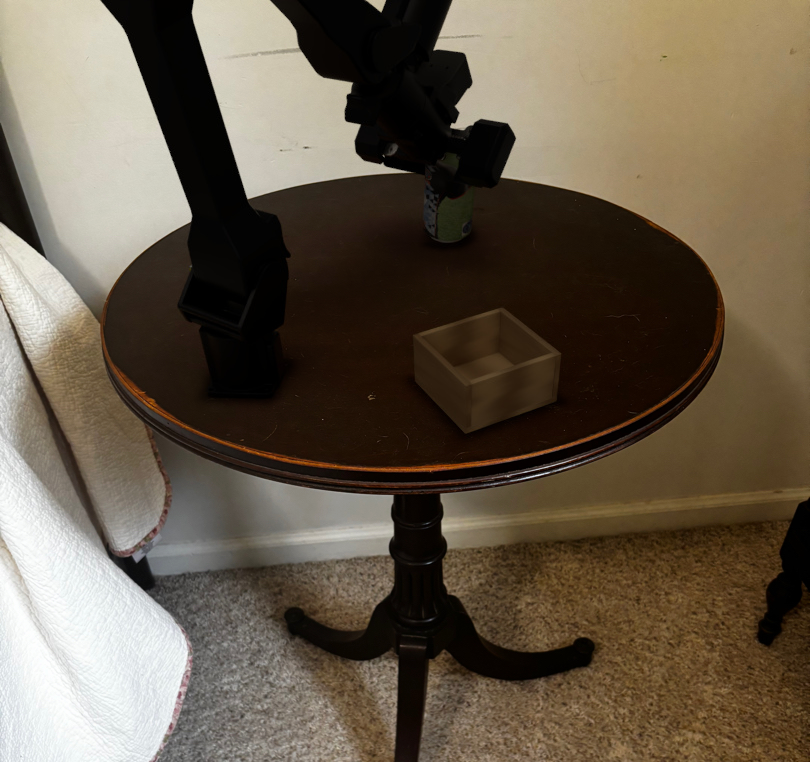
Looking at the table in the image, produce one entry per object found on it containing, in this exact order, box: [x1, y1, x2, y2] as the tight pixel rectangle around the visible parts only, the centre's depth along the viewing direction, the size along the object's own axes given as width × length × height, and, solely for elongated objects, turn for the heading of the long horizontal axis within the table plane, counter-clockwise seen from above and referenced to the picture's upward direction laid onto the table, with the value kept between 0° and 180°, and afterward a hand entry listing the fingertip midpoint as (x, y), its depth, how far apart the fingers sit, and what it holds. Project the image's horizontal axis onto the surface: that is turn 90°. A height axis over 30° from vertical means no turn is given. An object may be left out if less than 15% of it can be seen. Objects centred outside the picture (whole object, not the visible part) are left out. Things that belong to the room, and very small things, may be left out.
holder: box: [412, 307, 562, 435], centre depth 74 cm, size 10×10×5 cm
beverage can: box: [422, 139, 476, 244], centre depth 96 cm, size 6×7×12 cm
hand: (461, 179), depth 96 cm, fingers closed on beverage can, 6 cm apart
